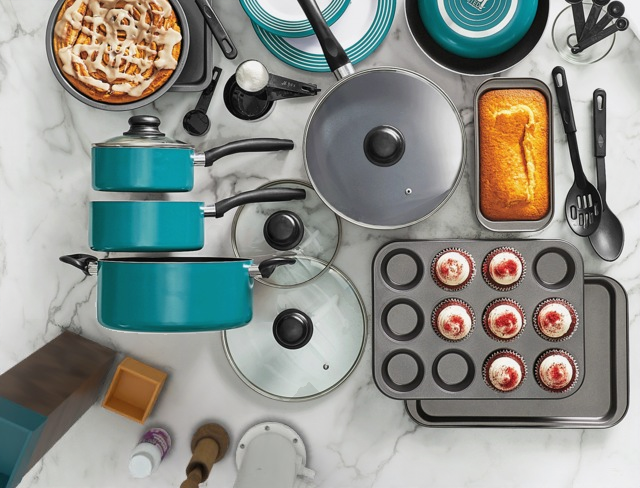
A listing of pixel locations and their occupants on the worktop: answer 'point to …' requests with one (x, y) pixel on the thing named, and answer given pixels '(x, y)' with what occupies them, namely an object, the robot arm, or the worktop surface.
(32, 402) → the riser
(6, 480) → the teal bin
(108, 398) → the amber bin
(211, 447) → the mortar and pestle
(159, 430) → the pill bottle
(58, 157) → the worktop surface
